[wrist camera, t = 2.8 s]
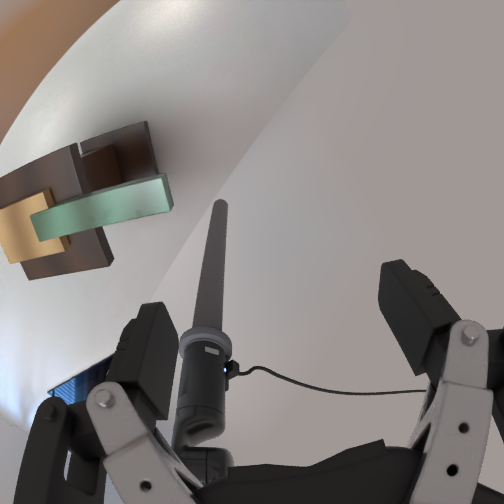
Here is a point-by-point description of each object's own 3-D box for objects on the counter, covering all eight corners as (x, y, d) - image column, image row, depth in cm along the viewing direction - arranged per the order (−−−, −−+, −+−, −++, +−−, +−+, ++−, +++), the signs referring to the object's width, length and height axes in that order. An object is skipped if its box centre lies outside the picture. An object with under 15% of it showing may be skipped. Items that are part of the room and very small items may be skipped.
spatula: (161, 153, 21) (156, 156, 20) (179, 222, 24) (175, 230, 23) (-5, 210, 22) (-13, 216, 20) (15, 259, 25) (8, 266, 23)
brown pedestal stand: (146, 120, 41) (69, 145, 20) (162, 190, 47) (109, 266, 26) (83, 141, 41) (-11, 183, 20) (101, 204, 47) (28, 280, 26)
